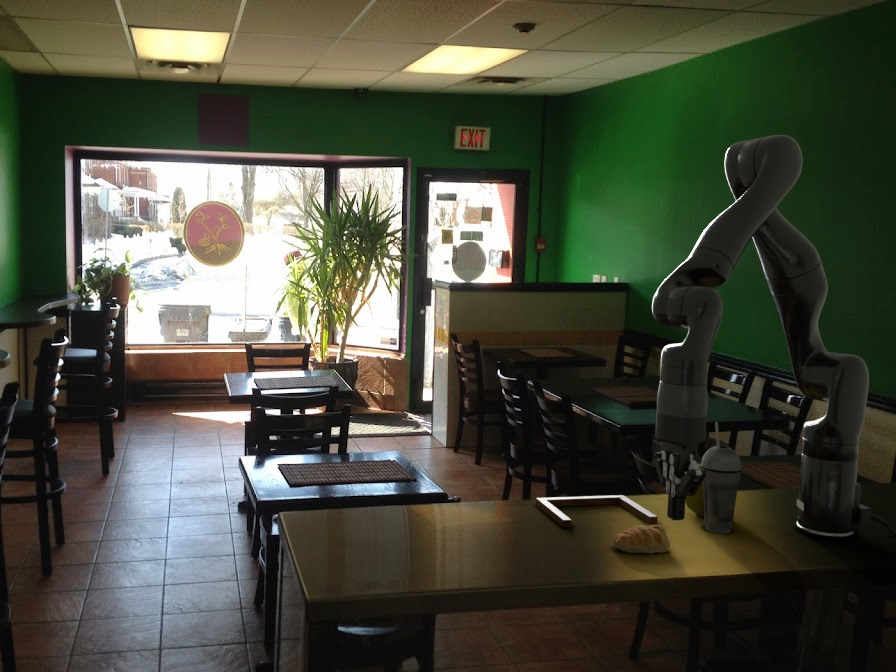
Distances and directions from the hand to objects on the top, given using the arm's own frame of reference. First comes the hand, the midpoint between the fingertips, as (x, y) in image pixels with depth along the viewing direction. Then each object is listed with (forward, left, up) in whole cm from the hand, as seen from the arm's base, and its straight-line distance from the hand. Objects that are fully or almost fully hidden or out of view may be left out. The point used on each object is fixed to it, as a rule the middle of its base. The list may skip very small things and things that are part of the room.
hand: (675, 518), depth 142 cm
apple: (-22, -28, -9) cm, 37 cm away
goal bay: (0, -30, -9) cm, 31 cm away
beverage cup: (-19, -19, -9) cm, 28 cm away
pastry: (0, -11, -9) cm, 14 cm away
